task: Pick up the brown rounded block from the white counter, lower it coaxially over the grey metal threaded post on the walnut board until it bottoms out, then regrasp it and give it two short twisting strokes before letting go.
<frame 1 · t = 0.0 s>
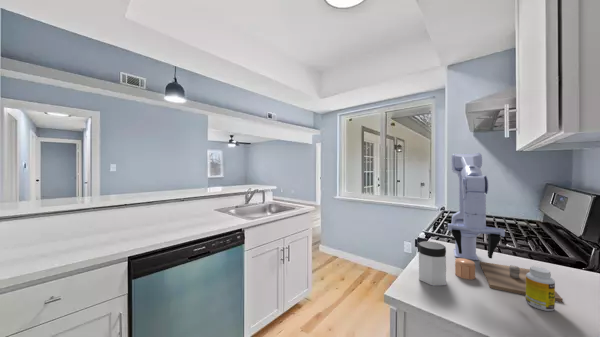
hand: (474, 255, 74), 10 cm above the worktop, fingers open, 7 cm apart
brown rounded block: (464, 275, 81), on the worktop
supplement bottle: (539, 306, 64), on the worktop
post board: (514, 280, 78), on the worktop
jar: (431, 280, 79), on the worktop
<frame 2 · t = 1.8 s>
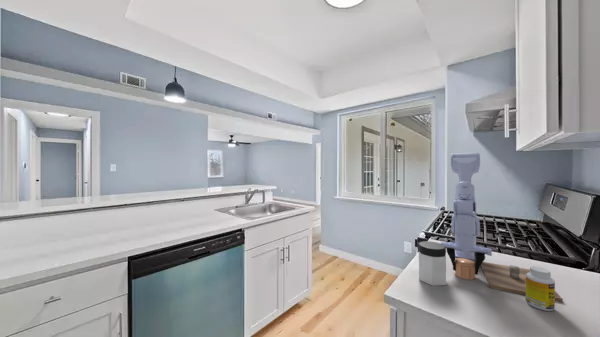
hand: (464, 271, 81), 1 cm above the worktop, fingers closed on brown rounded block, 6 cm apart
brown rounded block: (464, 275, 81), on the worktop, touching gripper
everything else where it was.
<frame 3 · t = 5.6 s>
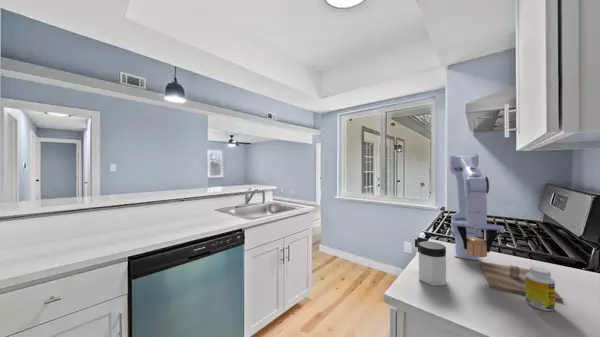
hand: (476, 249, 80), 9 cm above the worktop, fingers closed on brown rounded block, 6 cm apart
brown rounded block: (476, 253, 80), point 8 cm above the worktop, touching gripper
everything else where it was.
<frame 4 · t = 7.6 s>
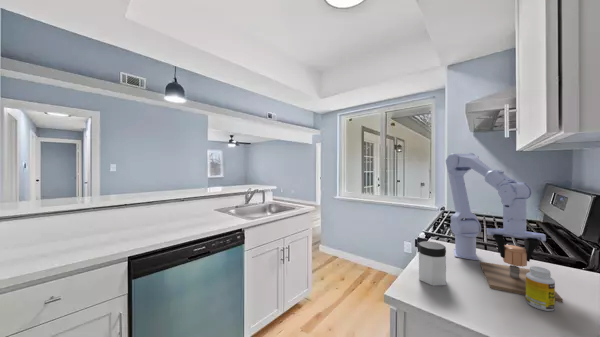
hand: (514, 258, 77), 7 cm above the worktop, fingers closed on brown rounded block, 6 cm apart
brown rounded block: (514, 262, 77), point 6 cm above the worktop, touching gripper
everything else where it was.
when the fingers open (4 cm above the worktop, at t = 9.2 s): brown rounded block drops 1 cm, resting on post board.
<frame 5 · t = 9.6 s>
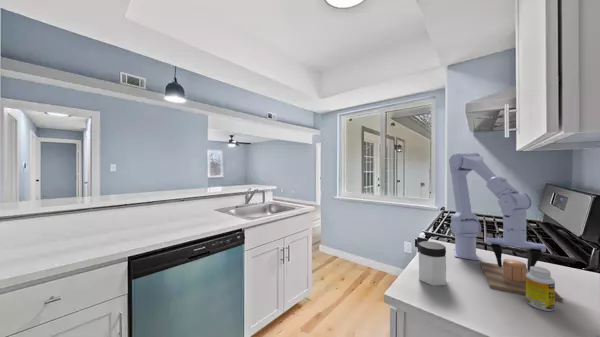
hand: (514, 268, 78), 4 cm above the worktop, fingers open, 7 cm apart
brown rounded block: (514, 277, 78), point 1 cm above the worktop, touching post board
everything else where it was.
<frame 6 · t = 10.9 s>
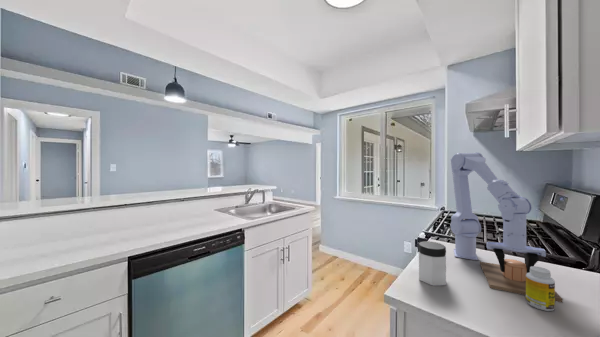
hand: (514, 273, 78), 2 cm above the worktop, fingers closed on brown rounded block, 6 cm apart
brown rounded block: (514, 277, 78), point 1 cm above the worktop, touching gripper, post board
everything else where it was.
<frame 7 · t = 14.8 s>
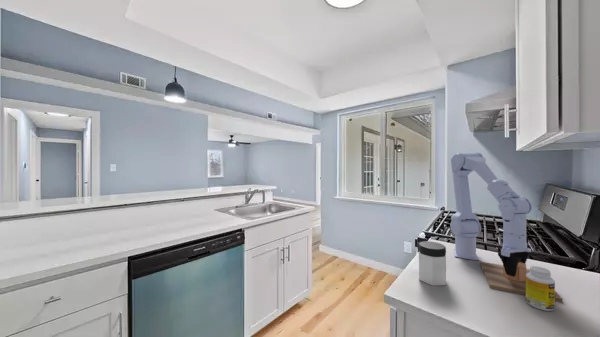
hand: (514, 273, 78), 2 cm above the worktop, fingers closed on brown rounded block, 6 cm apart
brown rounded block: (514, 277, 78), point 1 cm above the worktop, touching gripper
everything else where it was.
when the fingers open (2 cm above the worktop, at t = 15.2 s): brown rounded block stays where it is, resting on post board.
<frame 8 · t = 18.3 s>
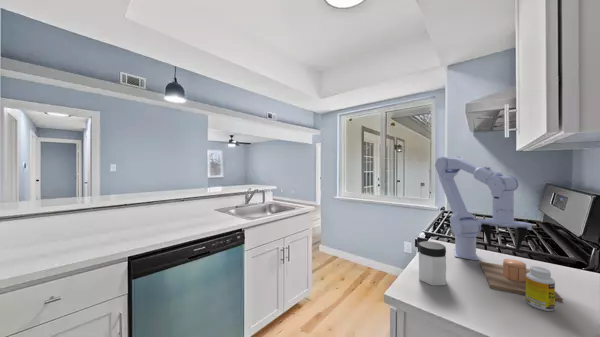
hand: (503, 246, 83), 9 cm above the worktop, fingers open, 7 cm apart
brown rounded block: (514, 277, 78), point 1 cm above the worktop, touching post board
everything else where it was.
at the end: brown rounded block 0.0 cm off-centre on the post board, point 1.0 cm above the post board's base; brown rounded block tilted 0°; the gripper is holding nothing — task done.
